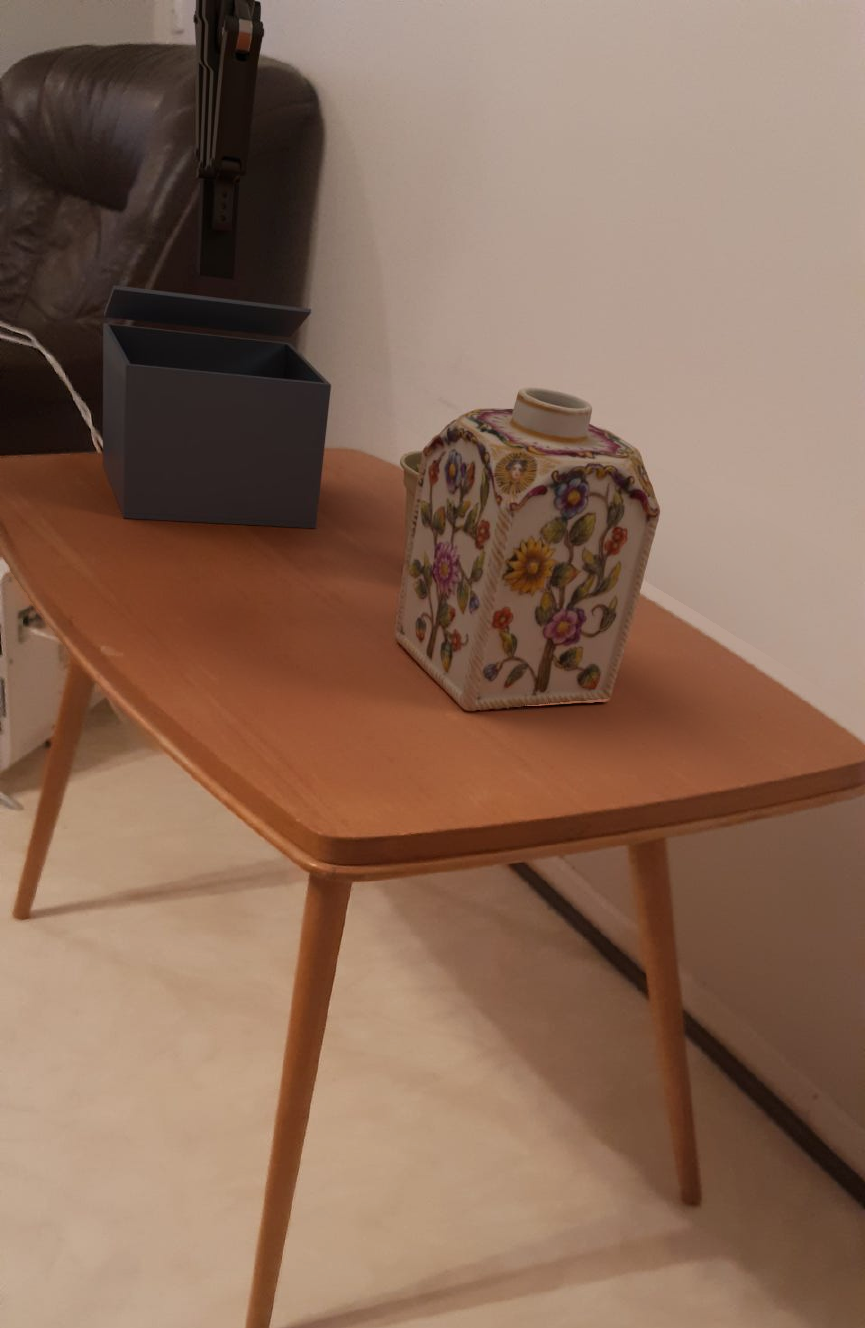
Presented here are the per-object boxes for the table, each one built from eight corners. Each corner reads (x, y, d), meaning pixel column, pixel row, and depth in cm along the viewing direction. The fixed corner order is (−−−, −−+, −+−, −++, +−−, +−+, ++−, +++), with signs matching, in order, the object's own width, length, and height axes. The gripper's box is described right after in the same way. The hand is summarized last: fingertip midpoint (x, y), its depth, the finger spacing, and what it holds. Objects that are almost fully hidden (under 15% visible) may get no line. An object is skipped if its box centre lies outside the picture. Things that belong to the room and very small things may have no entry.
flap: (113, 289, 94) (113, 285, 94) (104, 317, 100) (103, 313, 100) (311, 312, 99) (311, 308, 99) (290, 337, 105) (290, 334, 105)
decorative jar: (388, 638, 85) (429, 364, 75) (530, 634, 91) (587, 376, 80) (464, 717, 77) (521, 421, 67) (615, 707, 82) (690, 431, 72)
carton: (123, 518, 97) (125, 364, 90) (102, 464, 107) (103, 322, 100) (315, 528, 102) (331, 384, 96) (278, 476, 112) (290, 343, 106)
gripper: (163, -120, 86) (154, 254, 100) (195, -130, 77) (181, 286, 90) (266, -96, 89) (244, 266, 102) (311, -102, 79) (280, 298, 93)
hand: (215, 275), depth 96 cm, fingers closed
